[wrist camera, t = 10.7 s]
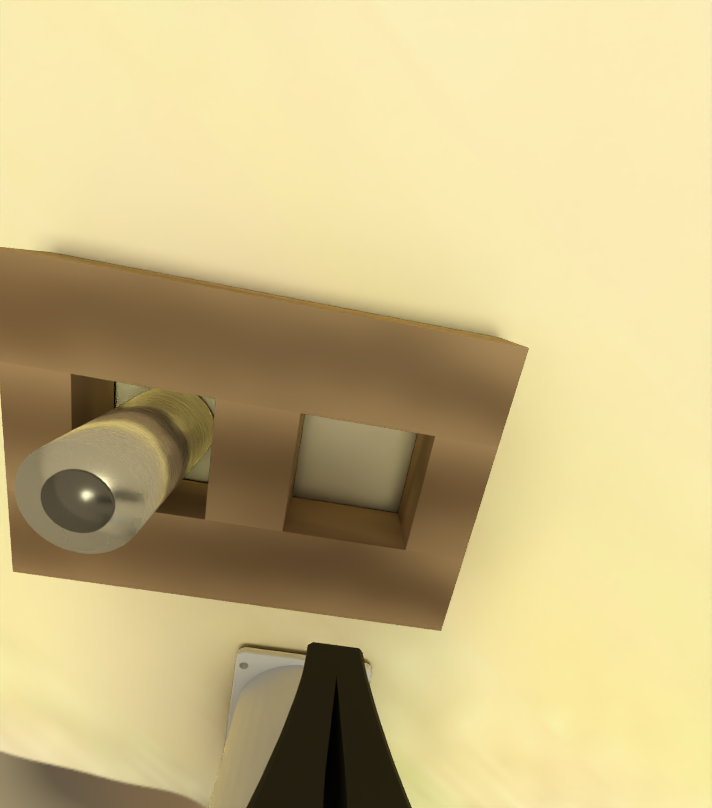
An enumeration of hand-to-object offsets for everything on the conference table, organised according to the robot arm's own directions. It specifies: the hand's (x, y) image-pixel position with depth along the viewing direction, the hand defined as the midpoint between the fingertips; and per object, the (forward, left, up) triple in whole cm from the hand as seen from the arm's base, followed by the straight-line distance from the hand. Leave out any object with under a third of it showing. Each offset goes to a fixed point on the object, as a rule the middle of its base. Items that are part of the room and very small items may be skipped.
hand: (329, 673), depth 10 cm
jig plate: (+2, +4, -10) cm, 11 cm away
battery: (+2, +9, -10) cm, 14 cm away
